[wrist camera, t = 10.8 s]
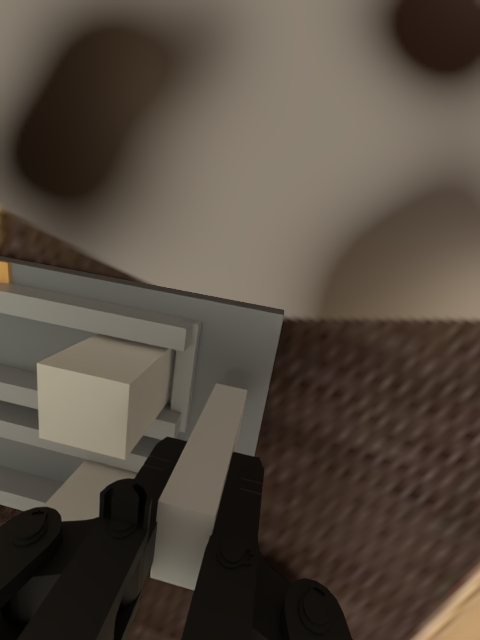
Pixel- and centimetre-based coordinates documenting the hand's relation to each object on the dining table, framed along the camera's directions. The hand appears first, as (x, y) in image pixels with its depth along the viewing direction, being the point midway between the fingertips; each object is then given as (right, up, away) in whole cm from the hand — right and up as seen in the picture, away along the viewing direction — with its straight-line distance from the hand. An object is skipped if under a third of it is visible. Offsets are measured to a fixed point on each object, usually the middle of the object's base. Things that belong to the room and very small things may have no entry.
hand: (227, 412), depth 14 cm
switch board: (-11, -1, +6) cm, 12 cm away
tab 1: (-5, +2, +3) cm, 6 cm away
